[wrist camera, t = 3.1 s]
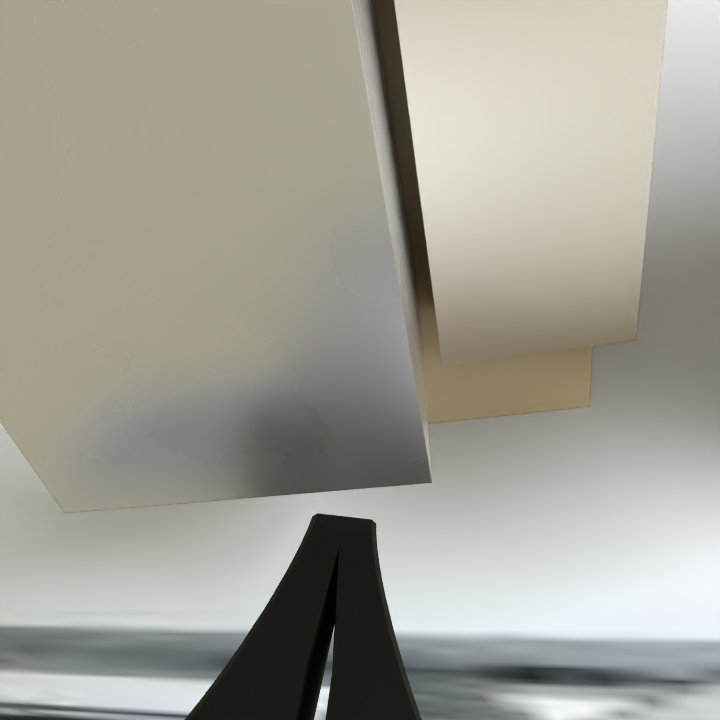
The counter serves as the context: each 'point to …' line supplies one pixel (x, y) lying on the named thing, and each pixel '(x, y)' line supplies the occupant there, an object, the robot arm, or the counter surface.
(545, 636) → the counter surface
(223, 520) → the counter surface
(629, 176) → the stand
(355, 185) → the grey box
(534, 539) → the counter surface
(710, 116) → the counter surface
